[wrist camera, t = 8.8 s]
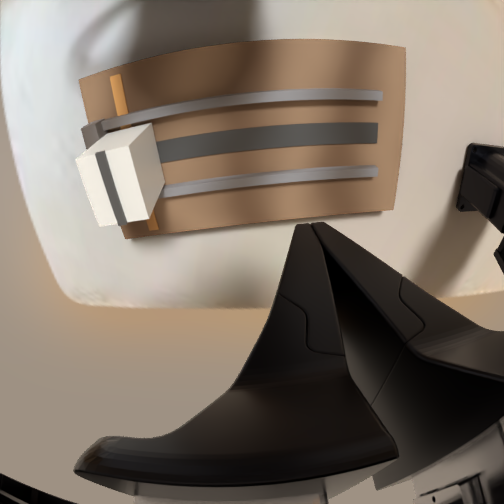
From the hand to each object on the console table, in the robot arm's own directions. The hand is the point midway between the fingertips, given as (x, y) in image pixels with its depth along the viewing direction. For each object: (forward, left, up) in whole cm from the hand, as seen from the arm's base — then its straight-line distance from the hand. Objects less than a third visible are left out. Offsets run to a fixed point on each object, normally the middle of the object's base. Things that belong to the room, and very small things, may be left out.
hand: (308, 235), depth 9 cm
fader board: (+1, 0, -12) cm, 12 cm away
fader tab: (+8, 0, -10) cm, 13 cm away
